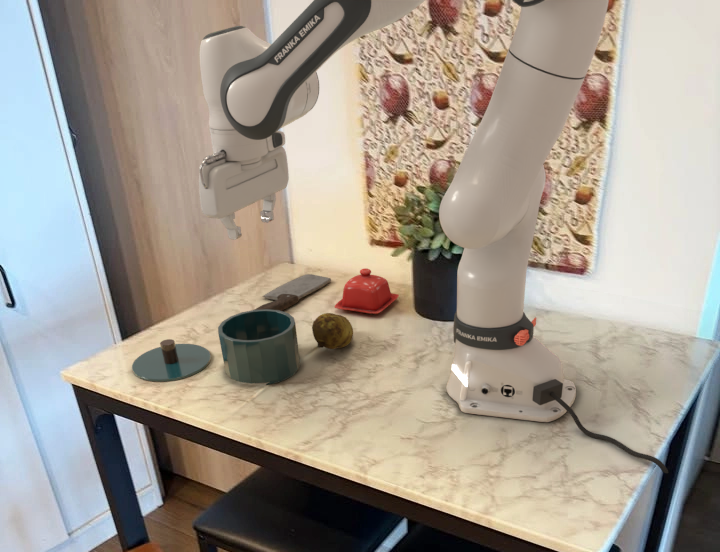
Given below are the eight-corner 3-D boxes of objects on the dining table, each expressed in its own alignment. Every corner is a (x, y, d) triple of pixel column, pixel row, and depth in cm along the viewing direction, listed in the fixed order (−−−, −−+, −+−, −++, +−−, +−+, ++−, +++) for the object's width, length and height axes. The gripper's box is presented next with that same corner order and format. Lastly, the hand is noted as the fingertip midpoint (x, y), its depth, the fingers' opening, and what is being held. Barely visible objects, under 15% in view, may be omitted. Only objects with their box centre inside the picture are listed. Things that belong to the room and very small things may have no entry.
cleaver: (258, 327, 162) (257, 318, 160) (223, 319, 166) (222, 310, 165) (335, 281, 181) (334, 273, 180) (302, 275, 186) (301, 267, 185)
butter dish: (356, 293, 174) (353, 257, 169) (401, 300, 170) (400, 263, 165) (332, 312, 166) (328, 275, 161) (379, 320, 162) (377, 281, 157)
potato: (369, 337, 155) (367, 300, 150) (336, 364, 146) (333, 325, 142) (335, 330, 159) (332, 294, 154) (301, 356, 150) (296, 318, 145)
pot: (314, 358, 149) (309, 315, 143) (271, 392, 139) (265, 347, 133) (255, 346, 155) (248, 304, 150) (210, 377, 145) (201, 334, 140)
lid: (227, 356, 152) (222, 333, 149) (176, 390, 141) (170, 366, 138) (169, 343, 159) (164, 320, 156) (116, 375, 148) (110, 351, 145)
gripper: (214, 160, 113) (229, 251, 122) (290, 131, 127) (299, 214, 136) (182, 158, 116) (199, 246, 124) (260, 129, 130) (270, 210, 138)
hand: (251, 229), depth 130 cm, fingers open, 8 cm apart
